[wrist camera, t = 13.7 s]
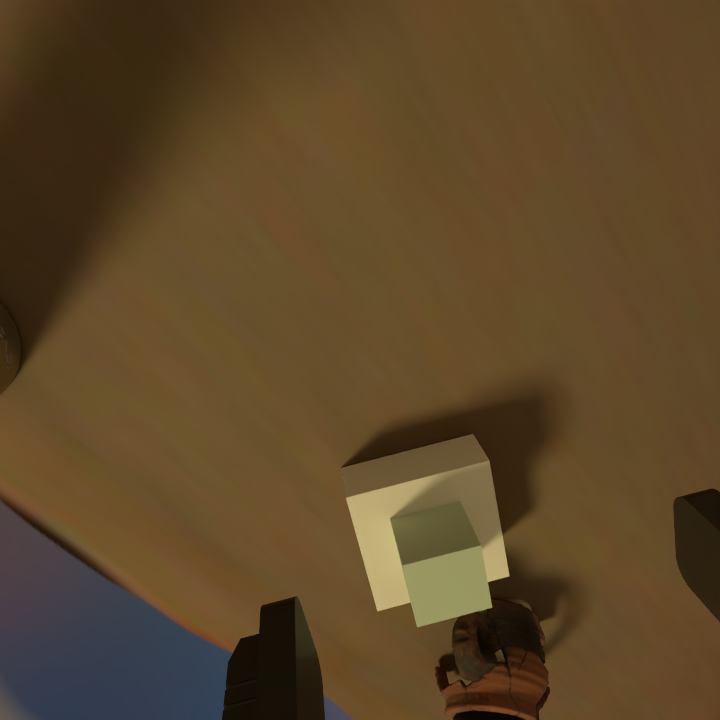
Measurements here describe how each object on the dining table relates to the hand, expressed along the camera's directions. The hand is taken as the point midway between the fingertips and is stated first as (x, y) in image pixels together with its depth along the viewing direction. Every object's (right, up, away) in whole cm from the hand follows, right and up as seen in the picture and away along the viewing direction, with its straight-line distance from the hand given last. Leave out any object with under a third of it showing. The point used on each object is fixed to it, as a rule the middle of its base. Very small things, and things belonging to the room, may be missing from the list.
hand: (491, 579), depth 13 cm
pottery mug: (+7, -19, +40) cm, 45 cm away
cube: (+2, -8, +31) cm, 32 cm away
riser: (+2, -7, +35) cm, 36 cm away
